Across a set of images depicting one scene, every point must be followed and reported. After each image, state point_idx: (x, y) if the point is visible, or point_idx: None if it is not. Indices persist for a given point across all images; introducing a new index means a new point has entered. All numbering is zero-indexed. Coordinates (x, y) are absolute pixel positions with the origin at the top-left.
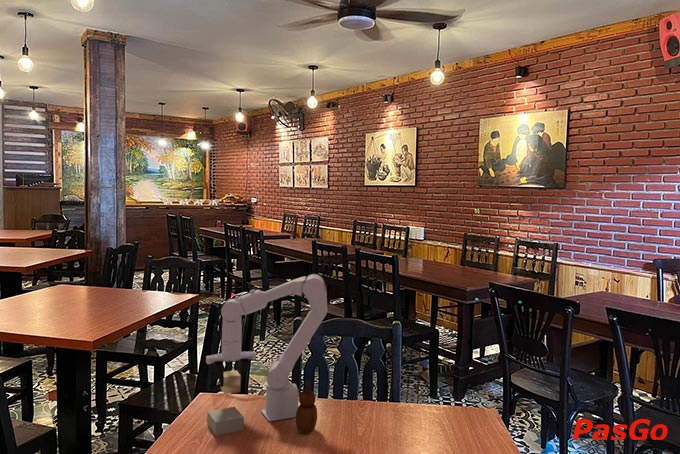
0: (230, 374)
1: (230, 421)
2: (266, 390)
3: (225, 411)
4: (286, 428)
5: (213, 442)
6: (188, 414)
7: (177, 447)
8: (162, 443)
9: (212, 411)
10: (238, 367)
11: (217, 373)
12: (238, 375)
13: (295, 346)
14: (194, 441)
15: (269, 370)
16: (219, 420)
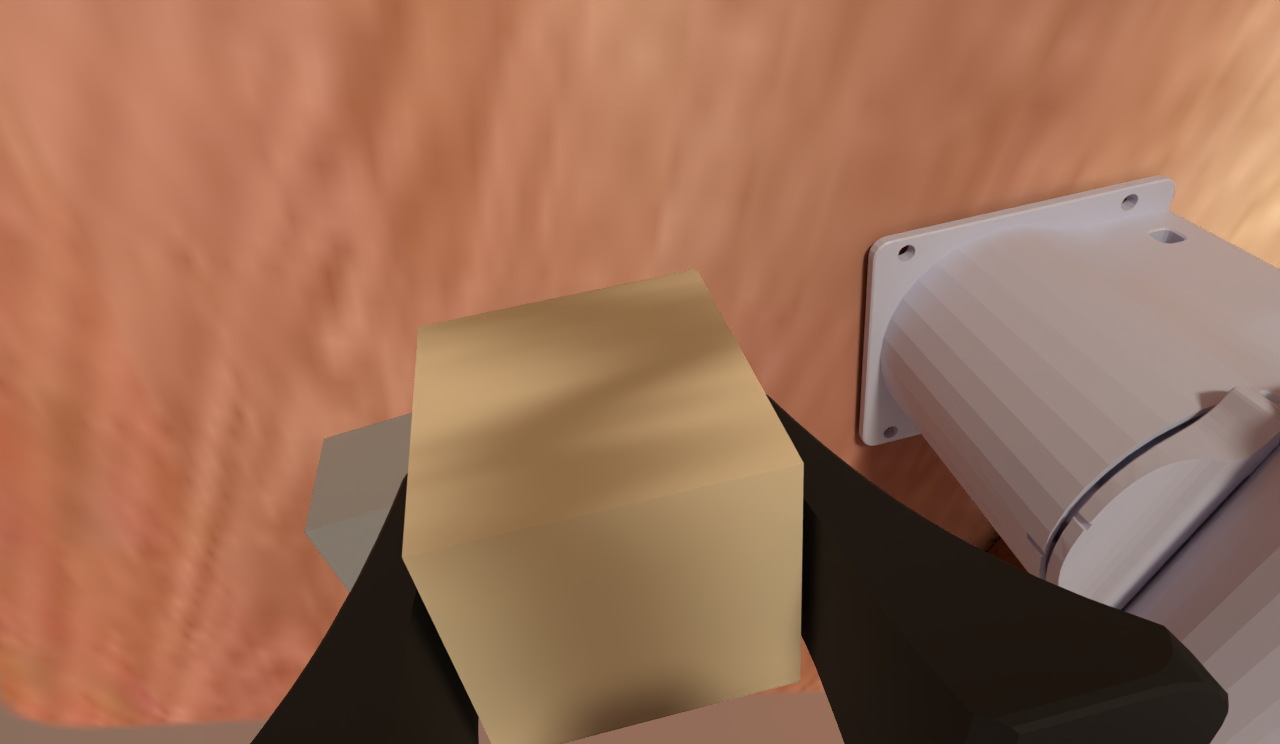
0: (624, 651)
1: None
2: (1020, 509)
3: None
4: (929, 519)
5: None
6: (5, 195)
7: (173, 715)
8: (22, 686)
9: (363, 534)
10: (858, 626)
11: (324, 656)
12: (765, 678)
13: None
14: (279, 658)
15: (1276, 721)
16: None
